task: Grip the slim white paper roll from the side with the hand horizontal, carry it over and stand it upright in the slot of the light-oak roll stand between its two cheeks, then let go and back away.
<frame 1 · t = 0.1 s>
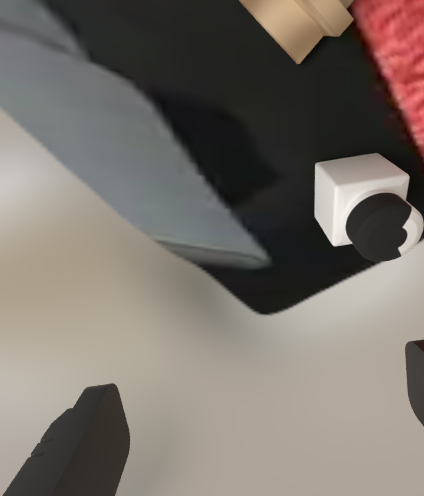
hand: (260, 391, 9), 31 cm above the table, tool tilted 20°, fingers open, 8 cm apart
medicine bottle: (343, 185, 40), on the table
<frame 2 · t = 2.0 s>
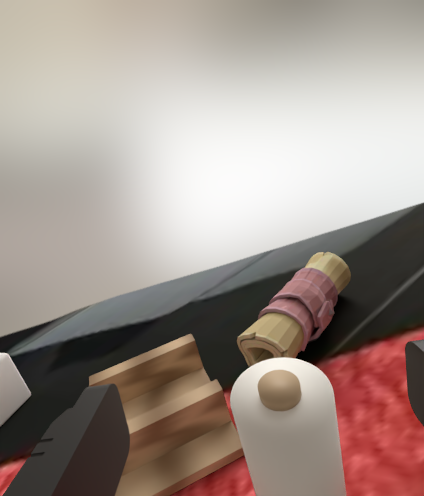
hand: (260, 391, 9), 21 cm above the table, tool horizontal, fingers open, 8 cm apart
stand: (163, 417, 36), on the table
scroll: (307, 334, 43), on the table
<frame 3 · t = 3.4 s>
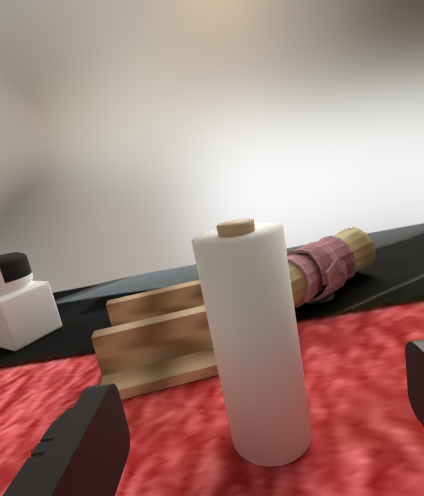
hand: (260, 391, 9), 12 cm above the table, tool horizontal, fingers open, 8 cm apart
stand: (166, 345, 38), on the table
scroll: (319, 299, 43), on the table
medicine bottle: (27, 337, 48), on the table
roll: (270, 432, 23), on the table
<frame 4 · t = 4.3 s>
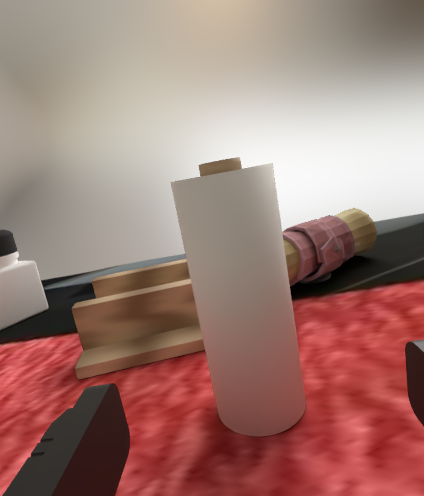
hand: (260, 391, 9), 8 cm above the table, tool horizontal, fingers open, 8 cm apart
stand: (154, 323, 36), on the table
scroll: (315, 280, 41), on the table
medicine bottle: (12, 319, 46), on the table
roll: (260, 402, 21), on the table
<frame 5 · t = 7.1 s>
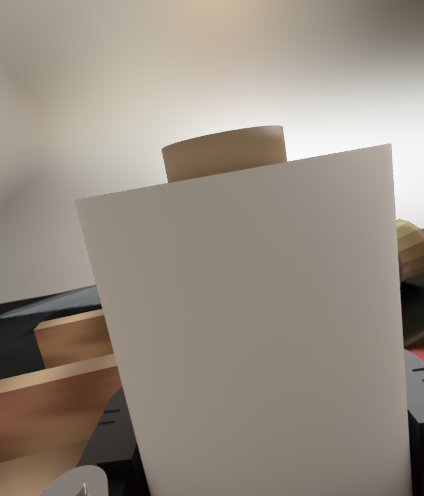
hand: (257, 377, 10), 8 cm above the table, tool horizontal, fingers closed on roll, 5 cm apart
stand: (122, 396, 24), on the table
scroll: (346, 319, 30), on the table
when the fingers open (10 cm above the table, at t = 11.9 s): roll stays where it is, resting on stand.
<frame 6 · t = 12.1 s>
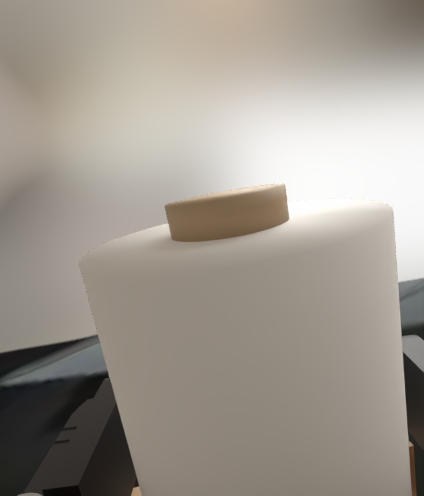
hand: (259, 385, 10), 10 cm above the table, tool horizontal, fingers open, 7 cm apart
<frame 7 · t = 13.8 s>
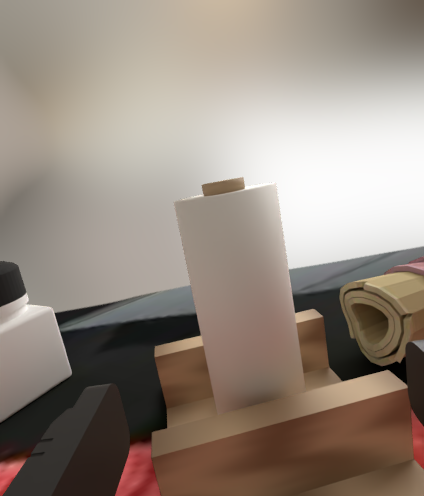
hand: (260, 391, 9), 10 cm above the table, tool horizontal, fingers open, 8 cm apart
stand: (267, 434, 21), on the table
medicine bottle: (18, 392, 31), on the table
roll: (264, 421, 21), point 1 cm above the table, touching stand
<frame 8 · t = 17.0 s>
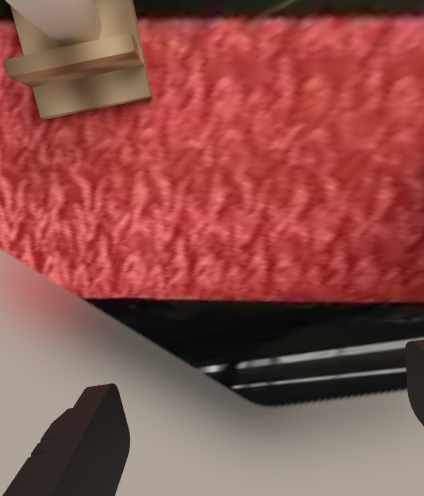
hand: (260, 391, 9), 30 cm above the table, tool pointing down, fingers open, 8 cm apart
stand: (79, 27, 35), on the table
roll: (74, 23, 34), point 1 cm above the table, touching stand
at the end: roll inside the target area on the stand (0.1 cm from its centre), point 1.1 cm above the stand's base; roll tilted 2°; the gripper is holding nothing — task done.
